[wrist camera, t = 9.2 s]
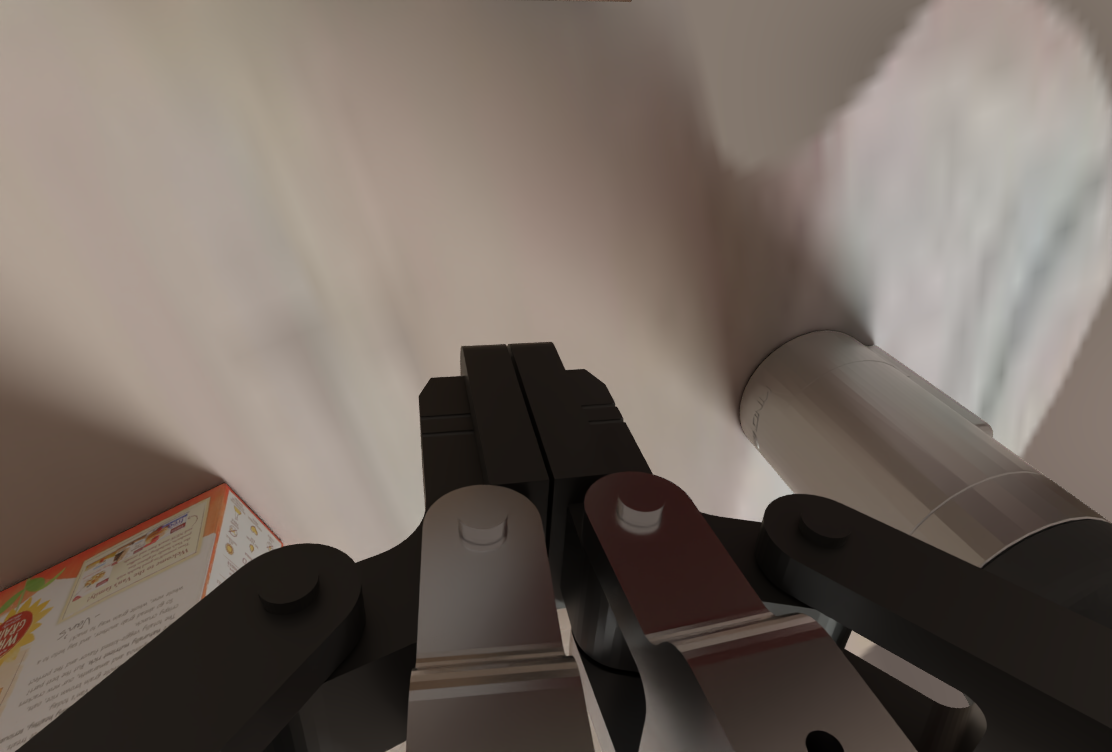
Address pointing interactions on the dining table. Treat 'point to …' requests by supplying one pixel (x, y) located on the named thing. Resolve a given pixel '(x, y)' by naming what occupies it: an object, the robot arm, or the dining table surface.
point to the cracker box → (114, 604)
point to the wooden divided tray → (597, 0)
